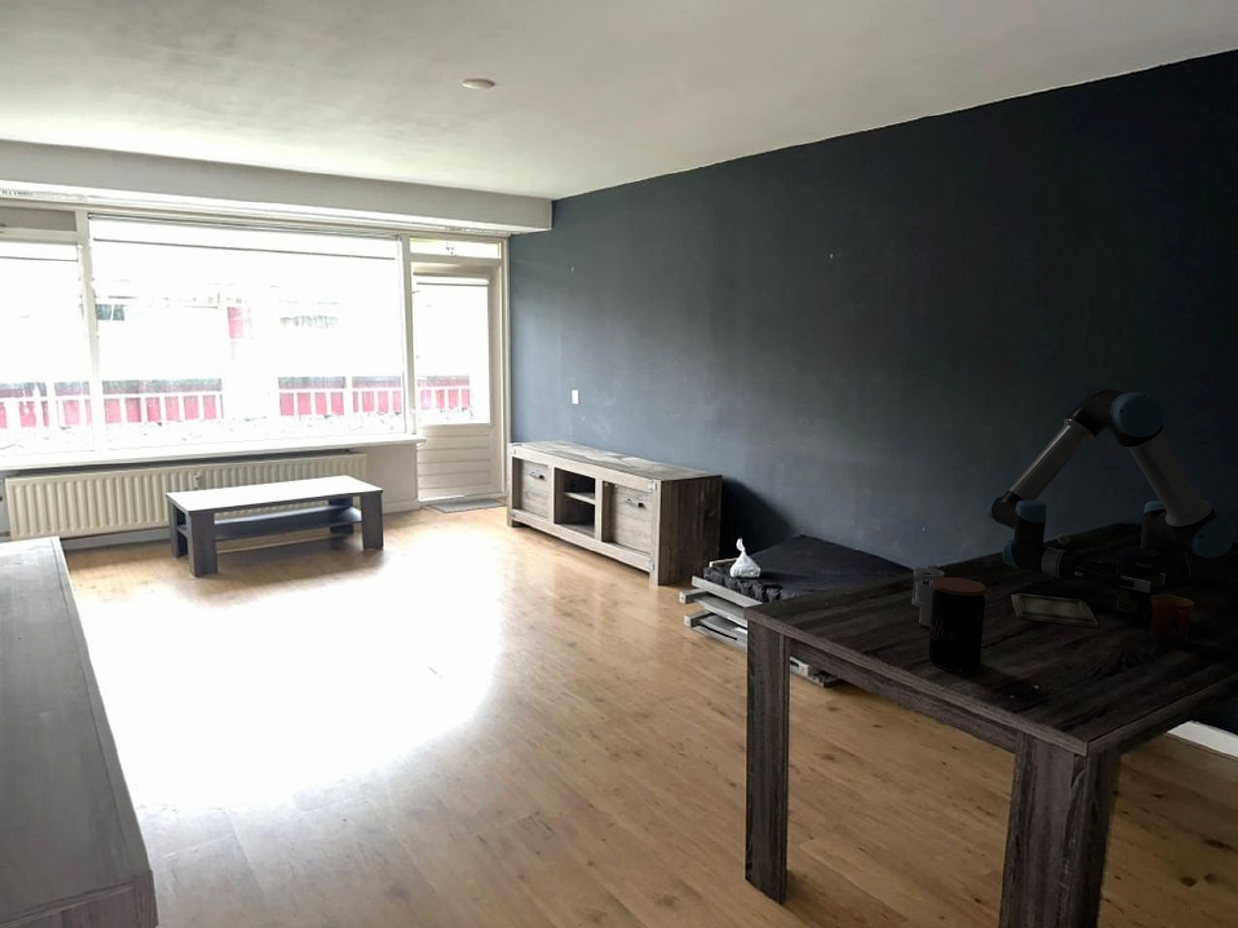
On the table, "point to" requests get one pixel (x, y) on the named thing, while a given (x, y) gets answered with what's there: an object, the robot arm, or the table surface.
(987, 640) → the table surface
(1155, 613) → the mug
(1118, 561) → the canister
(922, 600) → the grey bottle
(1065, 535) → the grandmother figurine
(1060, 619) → the square tray
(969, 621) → the coffee jar
